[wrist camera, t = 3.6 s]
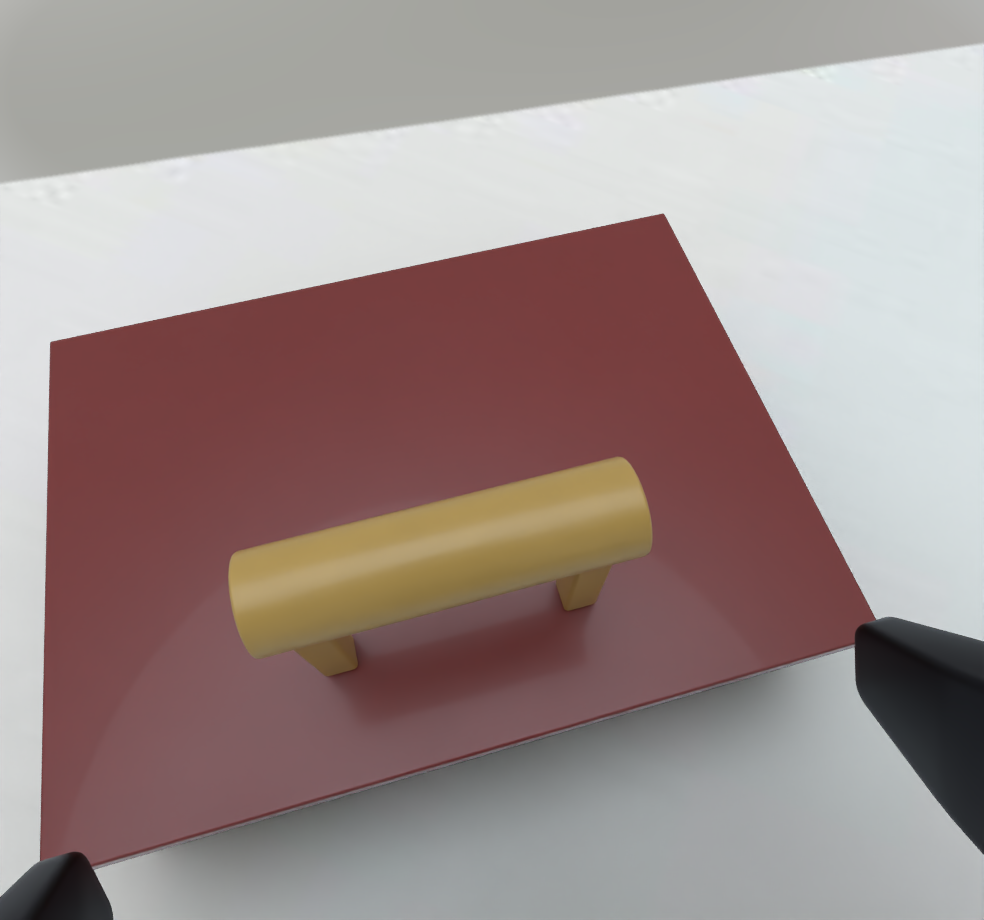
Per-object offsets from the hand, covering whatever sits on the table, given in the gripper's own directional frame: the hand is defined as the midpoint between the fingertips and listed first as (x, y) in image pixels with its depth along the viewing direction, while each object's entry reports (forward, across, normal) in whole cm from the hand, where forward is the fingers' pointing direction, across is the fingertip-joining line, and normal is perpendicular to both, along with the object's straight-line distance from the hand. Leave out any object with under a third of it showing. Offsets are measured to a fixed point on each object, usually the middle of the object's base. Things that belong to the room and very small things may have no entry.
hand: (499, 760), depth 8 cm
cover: (+9, 0, 0) cm, 9 cm away
